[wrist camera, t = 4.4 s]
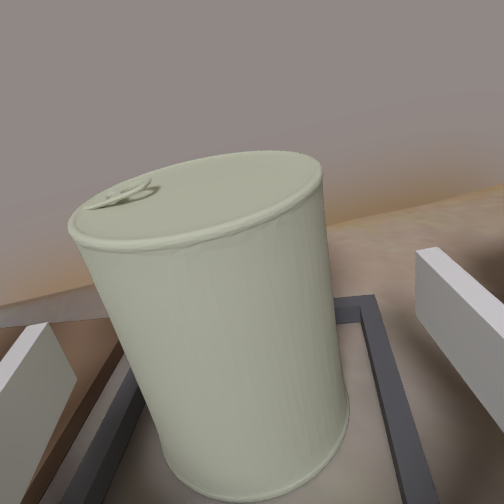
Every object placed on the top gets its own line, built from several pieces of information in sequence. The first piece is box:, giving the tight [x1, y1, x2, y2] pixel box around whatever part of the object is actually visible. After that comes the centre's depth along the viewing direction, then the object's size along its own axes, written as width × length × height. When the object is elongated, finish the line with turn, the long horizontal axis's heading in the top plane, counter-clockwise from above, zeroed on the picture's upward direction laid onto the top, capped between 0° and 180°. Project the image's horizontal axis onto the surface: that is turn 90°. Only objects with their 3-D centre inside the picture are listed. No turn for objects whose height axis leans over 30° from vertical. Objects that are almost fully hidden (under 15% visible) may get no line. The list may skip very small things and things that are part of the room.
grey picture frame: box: [60, 294, 439, 504], centre depth 19 cm, size 14×14×1 cm
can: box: [68, 151, 349, 503], centre depth 17 cm, size 9×9×12 cm
